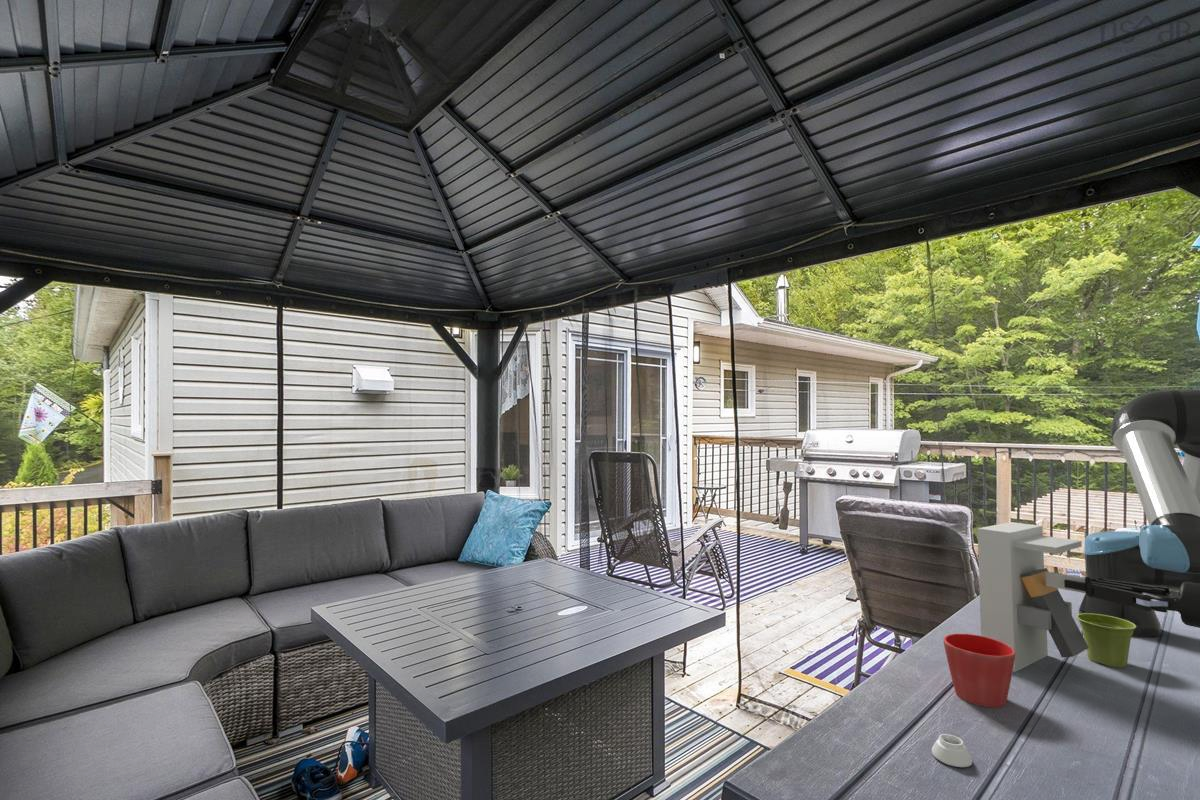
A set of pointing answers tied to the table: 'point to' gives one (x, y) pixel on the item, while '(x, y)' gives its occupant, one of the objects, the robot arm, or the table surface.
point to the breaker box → (1015, 587)
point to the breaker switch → (1055, 614)
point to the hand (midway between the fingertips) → (1047, 578)
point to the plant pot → (1107, 638)
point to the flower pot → (980, 668)
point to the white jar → (951, 751)
